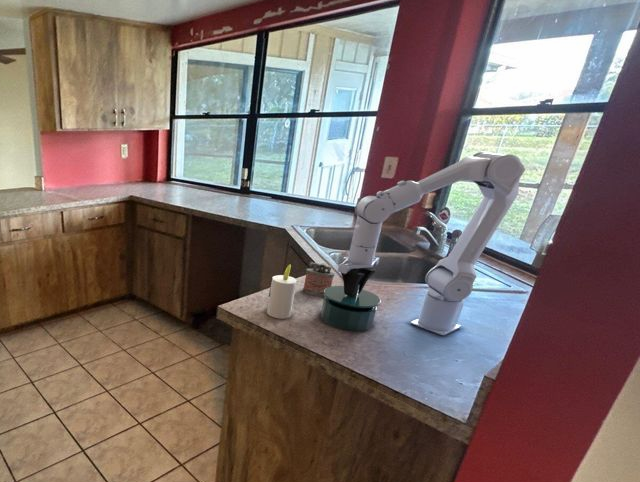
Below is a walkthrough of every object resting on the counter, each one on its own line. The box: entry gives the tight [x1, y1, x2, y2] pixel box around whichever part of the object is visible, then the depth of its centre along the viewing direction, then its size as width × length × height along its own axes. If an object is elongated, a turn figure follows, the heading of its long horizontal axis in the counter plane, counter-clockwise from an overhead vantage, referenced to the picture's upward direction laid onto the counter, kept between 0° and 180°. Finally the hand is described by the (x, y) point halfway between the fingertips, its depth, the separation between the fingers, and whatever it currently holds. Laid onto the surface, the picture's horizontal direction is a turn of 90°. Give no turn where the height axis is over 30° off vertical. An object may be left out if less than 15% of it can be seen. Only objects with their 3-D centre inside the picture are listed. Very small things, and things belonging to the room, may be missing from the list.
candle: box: [266, 263, 298, 320], centre depth 111 cm, size 6×6×15 cm
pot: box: [320, 296, 378, 332], centre depth 110 cm, size 13×13×5 cm
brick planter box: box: [302, 261, 336, 298], centre depth 126 cm, size 8×3×10 cm, turn 58°
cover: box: [324, 283, 382, 308], centre depth 107 cm, size 14×14×5 cm
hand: (352, 293), depth 108 cm, fingers closed on cover, 2 cm apart
